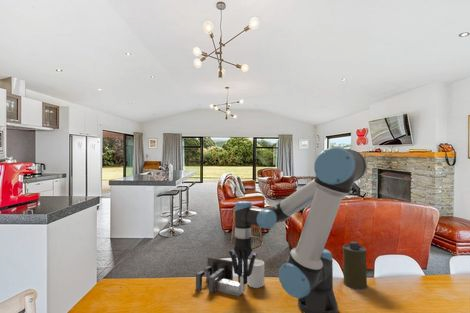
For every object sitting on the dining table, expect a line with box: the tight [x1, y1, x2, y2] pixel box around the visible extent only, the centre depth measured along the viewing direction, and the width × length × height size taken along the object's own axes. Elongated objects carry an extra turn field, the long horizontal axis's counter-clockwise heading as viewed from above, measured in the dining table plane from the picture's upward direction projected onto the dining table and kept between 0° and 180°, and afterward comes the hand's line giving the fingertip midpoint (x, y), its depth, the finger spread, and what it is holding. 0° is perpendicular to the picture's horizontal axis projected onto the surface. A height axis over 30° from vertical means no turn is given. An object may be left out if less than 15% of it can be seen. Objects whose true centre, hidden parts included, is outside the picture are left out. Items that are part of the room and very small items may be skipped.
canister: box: [342, 240, 368, 291], centre depth 117 cm, size 11×10×20 cm
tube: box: [215, 277, 243, 297], centre depth 109 cm, size 14×4×4 cm, turn 64°
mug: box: [246, 258, 265, 289], centre depth 117 cm, size 12×8×10 cm
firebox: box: [195, 256, 234, 295], centre depth 114 cm, size 14×14×10 cm
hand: (242, 290), depth 106 cm, fingers closed
